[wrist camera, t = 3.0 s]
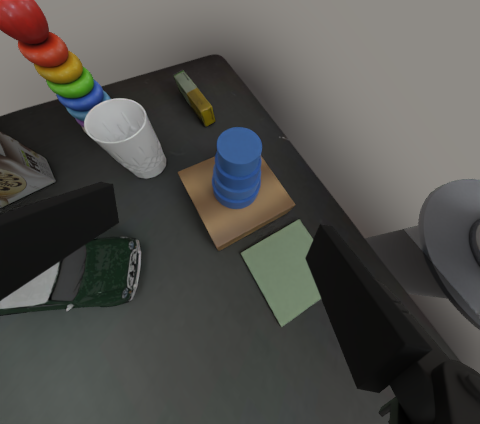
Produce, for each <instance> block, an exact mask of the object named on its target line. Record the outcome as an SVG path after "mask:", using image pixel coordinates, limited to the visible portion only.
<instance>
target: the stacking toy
mask: <svg viewBox="0 0 480 424" xmlns="http://www.w3.org/2000/svg"><path fill="white" fill-rule="evenodd" d="M0 30H1V31H3V32H4V33H6V34H7V35H9V36H10V37H12V38H14V39H16V40H18V47H19V50H20V52H21V53H22V54H23V56H24V57H25V58H27V59H28V60H29V61H31V62H32V63H34V66H35V69H36V70H37V72H38V73H39V74H40V75H41V76H42V77H43V78H45V79H46V82H47V84H48V86H49V87H50V89H51V90H52V91H53V92H54V93H56V95H57V98H58V100H59V101H60V102H61V103H62V104H63V105H64V106H66V109H67V111H68V112H69V113H70V114H71V115H72V116H73V117H74V118H75V119H76V121H77V122H78V123H79V124H80V125H81V126H82V128H83V130H84V131H85V129H84V120H85V117H86V115H87V114H88V112H89V111H90V110H91V109H92V108H93V107H94V106H96V105H97V104H99V103H101V102H103V101H106V100H110V99H111V98H110V97H109V95H108V94H107V93H106V92H104V91H103V89H102V87H101V86H100V85H99V84H98V82H96V81H95V80H94V79H93V77H92V75H91V74H90V72H89V71H88V70H87V69H86V68H84V67H83V66H82V63H81V61H80V60H79V59H78V57H77V56H76V55H75V54H73V53H72V52H70V51H68V48H67V47H66V44H65V43H64V42H63V40H62V39H60V38H59V37H58V36H57V35H55V34H53V33H51V32H49V29H48V23H47V21H46V18H45V16H44V14H43V12H42V11H41V9H40V7H39V6H38V5H37V3H36V2H35V1H34V0H0ZM85 133H86V131H85ZM86 134H87V133H86Z"/></svg>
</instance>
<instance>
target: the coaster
mask: <svg viewBox="0 0 480 424" xmlns="http://www.w3.org/2000/svg"><path fill="white" fill-rule="evenodd" d="M312 242H313V238H312V237H311V236H310V234H309V233H308V231H307V230H306V228H305V227H304V225H303V224H302V223H301V221H300V220H297V221H295V222H293V223H292V224H290V225H288V226H286V227H285V228H283V229H281V230H280V231H278V232H276V233H274V234H273V235H271V236H269V237H267V238H266V239H264V240H262V241H260V242H259V243H257V244H255V245H254V246H252V247H250V248H248V249H247V250H245V251H243V252H241V255H242V257H243V259H244V261H245V262H246V264H247V266H248V268H249V270H250V272H251V273H252V275H253V277H254V279H255V281H256V282H257V284H258V286H259V288H260V290H261V291H262V293H263V295H264V297H265V299H266V301H267V302H268V304H269V306H270V308H271V310H272V311H273V313H274V315H275V317H276V319H277V320H278V322H279V324H280V326H281V327H283V326H284V325H285V324H287V323H288V322H289V321H291V320H292V319H294V318H295V317H296V316H298V315H299V314H300V313H302V312H303V311H305V310H306V309H307V308H309V307H310V306H311V305H313V304H314V303H316V302H317V301H318V300H320V299H321V297H320V294H319V291H318V289H317V286H316V284H315V281H314V279H313V276H312V274H311V271H310V269H309V266H308V264H307V261H306V259H305V258H306V255H307V253H308V251H309V249H310V246H311V244H312Z"/></svg>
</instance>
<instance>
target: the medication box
mask: <svg viewBox="0 0 480 424" xmlns="http://www.w3.org/2000/svg"><path fill="white" fill-rule="evenodd" d="M173 77H174V79H175V81H176V84H177V86H178V89H179V91H180V93H181V94H182V95H183V97H184V98H185V100H186V101H187V102H188V104H189V105H190V106H191V108H192V109H193V110H194V112H195V113H196V114H197V116H198V117H199V118H200V120H201V121H202V122H203V124H204V125H205V126H206V127H207V126H208V125H210V124H212V123H214V122H215V117H214V113H213V109H212V106H211V104H210V103H209V102H208V101H207V99H206V98H205V97H204V96H203V94H202V93H201V92H200V90H199V89H198V88H197V87H196V85H195V84H194V83H193V82H192V80H191V79H190V78H189V77H188V75H187V74H186V73H185V72H184V70H182V71H179V72H178V73H176V74H174V75H173Z"/></svg>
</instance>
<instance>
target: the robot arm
mask: <svg viewBox="0 0 480 424" xmlns="http://www.w3.org/2000/svg"><path fill="white" fill-rule="evenodd" d="M117 223H119V220H118V213H117V207H116V201H115V194H114V188H113V184H109V183H104V182H99V183H96V184H93V185H90V186H86V187H83V188H80V189H77V190H74V191H71V192H68V193H65V194H62V195H59V196H55V197H52V198H49V199H46V200H43V201H40V202H37V203H34V204H31V205H28V206H24V207H21V208H18V209H15V210H12V211H9V212H6V213H3V214H0V301H1V300H3V299H4V298H6V297H7V296H9V295H10V294H12V293H13V292H15V291H16V290H18V289H19V288H21V287H22V286H24V285H25V284H27V283H28V282H30V281H31V280H33V279H34V278H36V277H37V276H39V275H40V274H42V273H43V272H45V271H46V270H48V269H49V268H51V267H52V266H54V265H55V264H57V263H58V262H60V261H61V260H63V259H64V258H66V257H67V256H69V255H70V254H72V253H73V252H75V251H76V250H78V249H80V248H81V247H83V246H84V245H86V244H87V243H89V242H90V241H92V240H93V239H95V238H96V237H98V236H99V235H101V234H102V233H104V232H105V231H107V230H108V229H110V228H111V227H113V226H114V225H116V224H117ZM469 243H470V248H471V251H472V254H473V256H474V258H475V260H476V262H477V264H478V265H479V267H480V219H478V220H476V221H475V222H474V223H473V225H472V226H471V229H470V232H469ZM305 259H306V261H307V264H308V266H309V269H310V271H311V274H312V276H313V279H314V281H315V284H316V286H317V289H318V291H319V294H320V297H321V299H322V302H323V304H324V307H325V309H326V312H327V314H328V317H329V319H330V322H331V324H332V327H333V329H334V332H335V334H336V337H337V339H338V342H339V344H340V347H341V349H342V352H343V354H344V357H345V359H346V362H347V364H348V367H349V369H350V372H351V374H352V377H353V379H354V382H355V384H356V387H357V389H361V390H367V391H372V392H377V393H380V392H381V391H382V390H384V389H385V388H386V387H387V386H388V385H390V386H391V388H392V390H393V392H394V394H395V396H396V397H395V398H393V399H392V400H391V401H389V402H388V403H387V404H385V405H384V406H382V407H381V409H380V411H379V414H380V415H381V416H382V417H383V416H384V415H386V414H387V413H388V412H390V420H389V421H388V422H389V424H480V374H479V373H478V372H476V371H475V370H474V369H472V368H470V367H468V366H466V365H465V364H463V363H461V362H458V361H455V360H451V359H449V358H448V357H447V355H446V354H445V353H444V352H443V351H442V350H441V348H440V347H439V346H438V345H437V344H436V343H435V341H434V340H433V339H432V338H431V337H430V336H429V334H428V333H427V332H426V331H425V330H424V329H423V327H422V326H421V325H420V324H419V323H418V322H417V320H416V319H415V318H414V317H413V316H412V315H411V314H409V311H408V310H407V309H406V308H405V306H404V305H403V304H401V302H400V301H399V299H398V298H397V297H396V296H395V295H394V294H393V292H392V291H391V290H390V289H388V288H387V287H386V286H385V285H383V284H382V283H381V282H380V281H379V280H376V279H375V278H374V277H373V276H372V275H371V273H370V272H369V271H368V270H367V268H366V267H365V266H364V265H363V264H362V262H361V261H360V260H359V259H358V257H357V256H356V255H355V254H354V253H353V251H352V250H351V249H350V248H349V246H348V245H347V244H346V243H345V242H344V240H343V239H342V238H341V237H340V235H339V234H338V233H337V232H336V231H335V229H334V228H333V227H332V226H327V225H322V224H320V226H319V228H318V230H317V233H316V235H315V237H314V239H313V242H312V244H311V246H310V249H309V251H308V253H307V255H306V258H305Z"/></svg>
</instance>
